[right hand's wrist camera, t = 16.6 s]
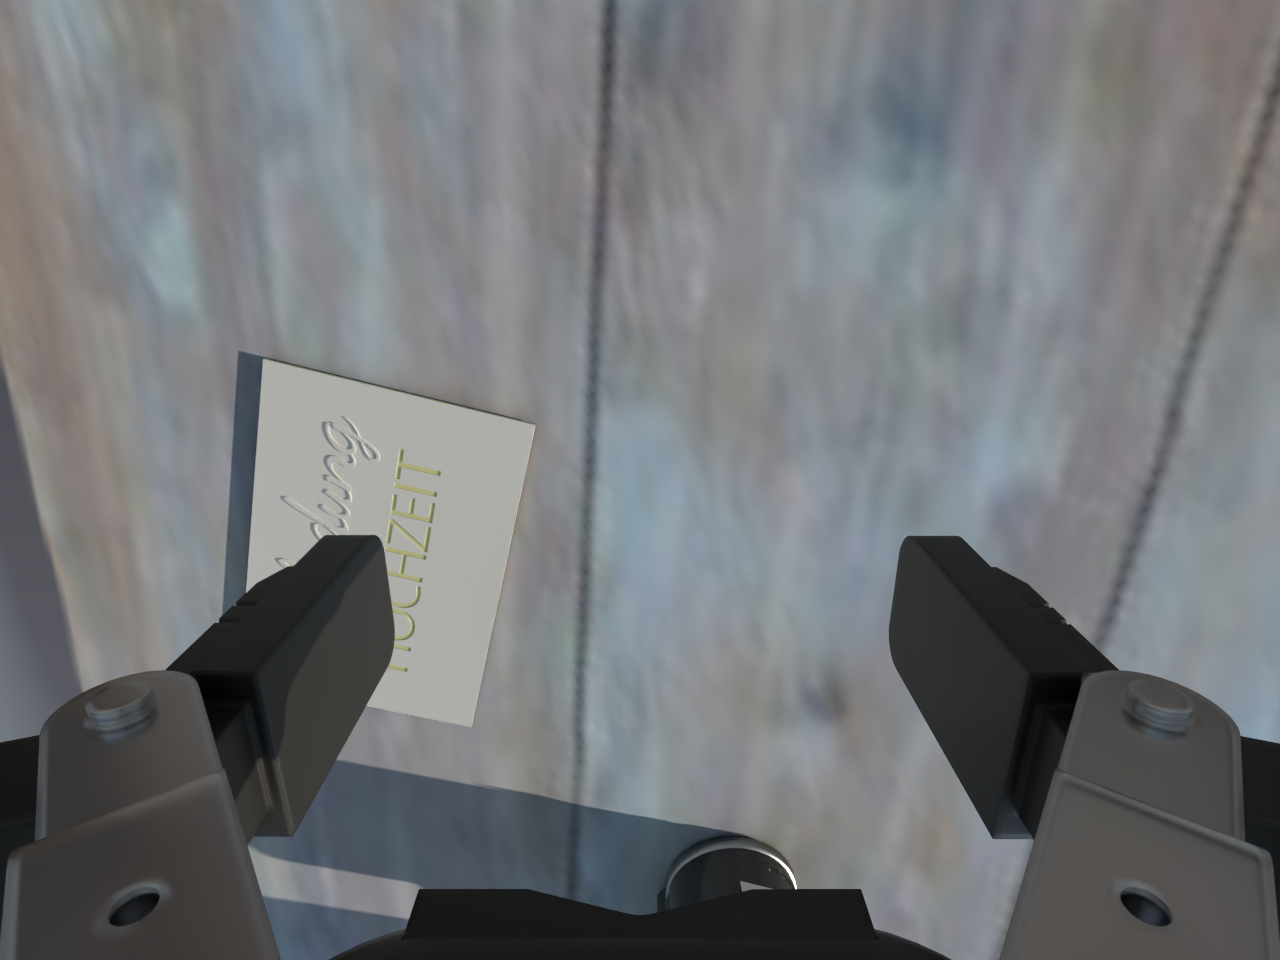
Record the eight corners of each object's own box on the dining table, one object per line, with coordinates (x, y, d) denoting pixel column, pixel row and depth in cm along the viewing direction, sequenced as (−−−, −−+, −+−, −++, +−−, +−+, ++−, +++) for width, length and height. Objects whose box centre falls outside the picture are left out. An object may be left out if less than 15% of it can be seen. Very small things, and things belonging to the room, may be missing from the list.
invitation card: (470, 728, 47) (238, 680, 46) (471, 725, 47) (241, 678, 46) (535, 425, 40) (262, 359, 38) (535, 424, 40) (264, 358, 39)
